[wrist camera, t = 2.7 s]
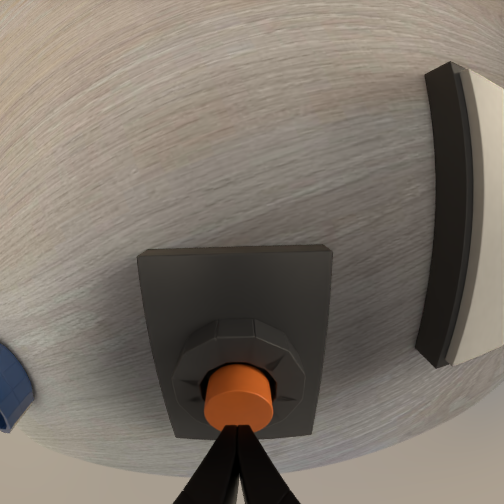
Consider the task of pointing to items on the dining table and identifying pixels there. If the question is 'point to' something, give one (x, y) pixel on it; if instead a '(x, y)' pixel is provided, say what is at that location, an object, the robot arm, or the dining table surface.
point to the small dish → (13, 390)
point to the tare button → (238, 397)
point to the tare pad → (238, 327)
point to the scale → (465, 219)
